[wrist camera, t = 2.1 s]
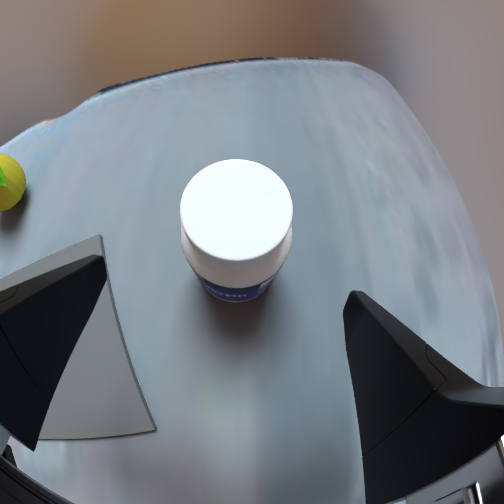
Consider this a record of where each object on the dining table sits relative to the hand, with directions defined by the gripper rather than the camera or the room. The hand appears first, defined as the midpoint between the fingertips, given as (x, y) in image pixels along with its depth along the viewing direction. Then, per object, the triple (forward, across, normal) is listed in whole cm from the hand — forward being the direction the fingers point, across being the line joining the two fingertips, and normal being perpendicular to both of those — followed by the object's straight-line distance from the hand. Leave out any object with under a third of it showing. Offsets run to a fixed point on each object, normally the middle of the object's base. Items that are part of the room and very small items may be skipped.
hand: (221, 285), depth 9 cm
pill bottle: (+10, 0, +5) cm, 11 cm away
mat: (+3, +14, +12) cm, 19 cm away
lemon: (+13, +26, +3) cm, 29 cm away
